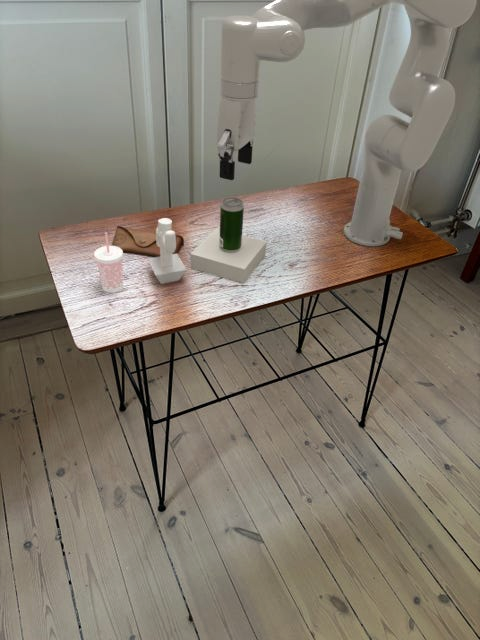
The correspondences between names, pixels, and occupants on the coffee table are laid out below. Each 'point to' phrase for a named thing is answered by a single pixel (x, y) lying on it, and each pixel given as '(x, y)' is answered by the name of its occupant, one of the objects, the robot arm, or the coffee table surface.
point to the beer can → (231, 224)
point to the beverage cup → (110, 266)
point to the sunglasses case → (141, 242)
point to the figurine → (166, 254)
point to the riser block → (228, 257)
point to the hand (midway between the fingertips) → (236, 170)
